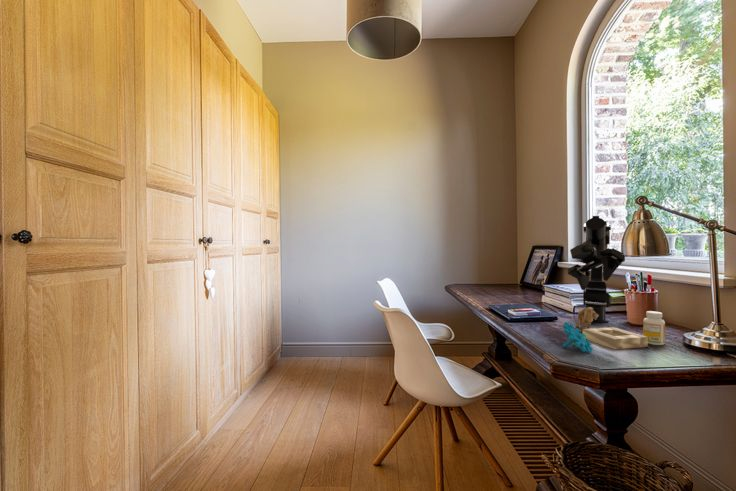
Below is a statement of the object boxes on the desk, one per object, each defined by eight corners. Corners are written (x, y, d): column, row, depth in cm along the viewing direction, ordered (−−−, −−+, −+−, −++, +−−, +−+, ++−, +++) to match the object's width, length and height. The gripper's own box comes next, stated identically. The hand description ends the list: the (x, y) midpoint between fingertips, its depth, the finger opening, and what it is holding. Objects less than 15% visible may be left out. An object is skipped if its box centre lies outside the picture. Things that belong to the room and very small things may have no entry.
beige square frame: (612, 336, 121) (612, 327, 121) (647, 346, 109) (647, 336, 109) (582, 338, 118) (582, 329, 118) (614, 349, 106) (615, 339, 106)
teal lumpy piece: (585, 351, 99) (560, 320, 105) (567, 362, 102) (545, 332, 108) (601, 349, 106) (577, 320, 112) (584, 360, 109) (562, 331, 115)
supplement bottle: (653, 340, 116) (653, 310, 116) (669, 345, 111) (670, 313, 111) (638, 340, 116) (639, 310, 115) (654, 345, 110) (654, 314, 110)
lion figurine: (599, 335, 122) (600, 308, 122) (582, 334, 123) (583, 308, 123) (585, 325, 136) (585, 301, 136) (569, 324, 138) (569, 300, 138)
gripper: (556, 249, 135) (553, 284, 127) (597, 225, 119) (595, 263, 111) (582, 262, 136) (580, 298, 128) (626, 240, 120) (626, 279, 112)
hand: (593, 285), depth 120 cm, fingers open, 9 cm apart
